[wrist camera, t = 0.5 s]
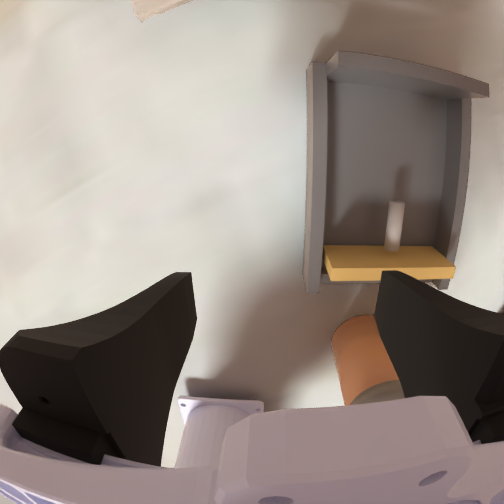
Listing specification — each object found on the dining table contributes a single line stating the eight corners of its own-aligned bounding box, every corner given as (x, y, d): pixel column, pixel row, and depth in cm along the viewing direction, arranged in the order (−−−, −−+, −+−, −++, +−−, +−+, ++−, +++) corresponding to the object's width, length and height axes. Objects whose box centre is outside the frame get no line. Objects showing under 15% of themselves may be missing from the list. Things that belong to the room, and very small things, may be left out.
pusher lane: (431, 272, 22) (466, 310, 16) (302, 273, 22) (312, 319, 17) (449, 91, 17) (498, 87, 11) (306, 70, 17) (320, 49, 12)
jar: (380, 359, 25) (408, 432, 17) (327, 362, 26) (342, 441, 18) (392, 313, 23) (432, 385, 16) (335, 316, 24) (358, 395, 16)
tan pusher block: (430, 256, 20) (452, 278, 17) (321, 256, 21) (331, 281, 17) (439, 199, 19) (466, 213, 15) (325, 192, 19) (337, 206, 16)
